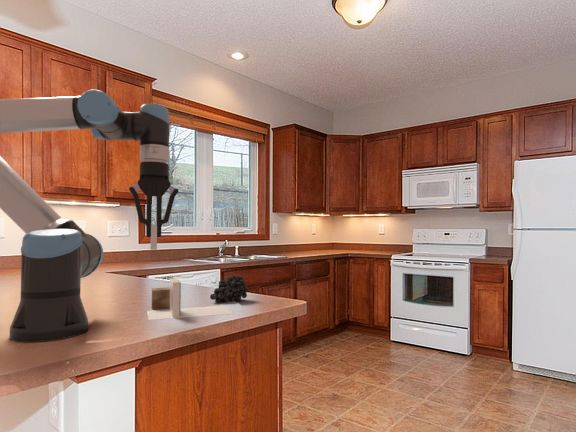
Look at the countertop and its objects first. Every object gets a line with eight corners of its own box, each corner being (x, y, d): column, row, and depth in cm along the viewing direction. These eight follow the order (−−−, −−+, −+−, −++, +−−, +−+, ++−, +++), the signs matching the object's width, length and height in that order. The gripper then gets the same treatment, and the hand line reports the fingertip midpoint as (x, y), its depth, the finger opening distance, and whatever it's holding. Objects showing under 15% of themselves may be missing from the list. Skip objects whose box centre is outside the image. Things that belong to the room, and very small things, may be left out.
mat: (148, 322, 99) (148, 320, 99) (146, 312, 110) (146, 310, 110) (233, 315, 107) (233, 313, 107) (224, 307, 118) (224, 305, 118)
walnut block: (152, 311, 112) (152, 290, 112) (151, 308, 117) (151, 288, 117) (170, 310, 114) (170, 289, 114) (168, 307, 119) (169, 287, 119)
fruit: (215, 276, 120) (248, 271, 132) (198, 283, 125) (232, 277, 137) (221, 304, 118) (255, 296, 130) (204, 310, 123) (238, 301, 135)
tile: (172, 316, 102) (173, 282, 103) (169, 310, 111) (170, 278, 111) (180, 316, 103) (180, 282, 103) (176, 309, 111) (177, 278, 112)
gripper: (128, 158, 100) (127, 250, 99) (180, 162, 105) (180, 249, 104) (128, 163, 107) (127, 249, 106) (177, 166, 112) (177, 248, 111)
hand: (153, 249), depth 105 cm, fingers closed
